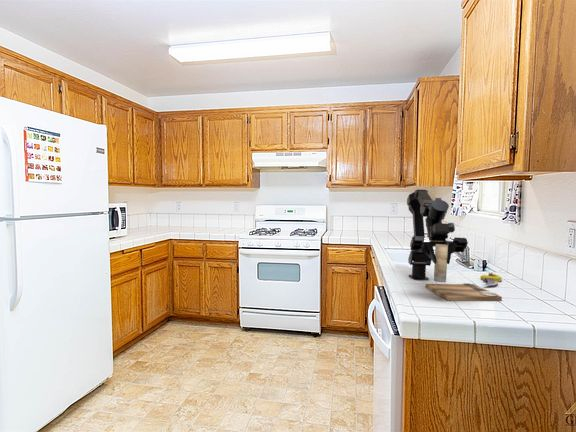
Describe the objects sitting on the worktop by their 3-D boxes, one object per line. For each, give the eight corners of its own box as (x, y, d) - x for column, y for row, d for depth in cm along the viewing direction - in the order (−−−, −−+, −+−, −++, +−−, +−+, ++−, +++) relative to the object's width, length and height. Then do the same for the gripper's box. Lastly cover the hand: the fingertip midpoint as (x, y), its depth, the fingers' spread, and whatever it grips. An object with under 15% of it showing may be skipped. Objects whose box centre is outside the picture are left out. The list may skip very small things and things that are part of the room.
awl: (431, 279, 123) (433, 243, 122) (441, 279, 123) (443, 243, 122) (437, 282, 119) (439, 245, 118) (448, 282, 119) (450, 245, 118)
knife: (498, 291, 135) (502, 278, 156) (498, 284, 135) (502, 273, 155) (476, 287, 140) (482, 276, 160) (476, 281, 139) (483, 270, 160)
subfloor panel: (425, 287, 137) (425, 282, 137) (473, 287, 138) (473, 283, 138) (447, 300, 120) (447, 295, 120) (501, 300, 122) (501, 295, 121)
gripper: (413, 213, 125) (418, 248, 115) (467, 215, 122) (478, 251, 112) (408, 232, 133) (412, 266, 123) (458, 234, 130) (467, 269, 120)
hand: (442, 263), depth 119 cm, fingers closed on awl, 4 cm apart
